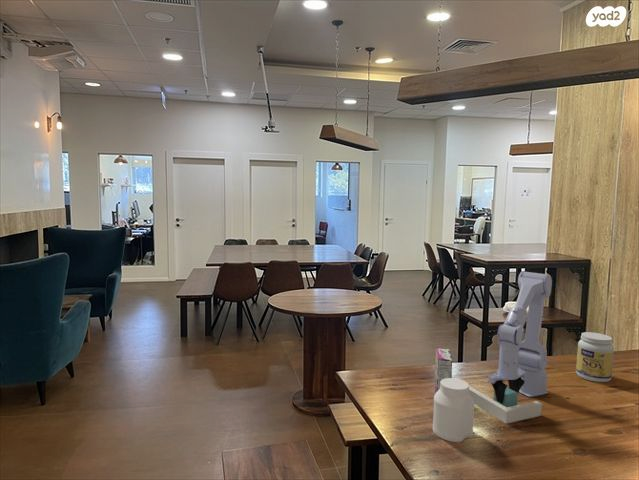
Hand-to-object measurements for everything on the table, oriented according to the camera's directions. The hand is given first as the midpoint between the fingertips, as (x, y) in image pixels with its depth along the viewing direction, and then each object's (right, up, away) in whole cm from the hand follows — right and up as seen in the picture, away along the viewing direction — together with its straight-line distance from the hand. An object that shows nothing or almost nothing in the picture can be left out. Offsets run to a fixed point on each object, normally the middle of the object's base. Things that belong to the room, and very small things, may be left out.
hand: (506, 400), depth 144 cm
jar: (-22, -4, -14) cm, 27 cm away
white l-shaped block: (0, -3, +3) cm, 4 cm away
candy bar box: (-19, -3, +8) cm, 21 cm away
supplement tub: (+48, -2, +29) cm, 56 cm away
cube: (0, -2, 0) cm, 2 cm away
